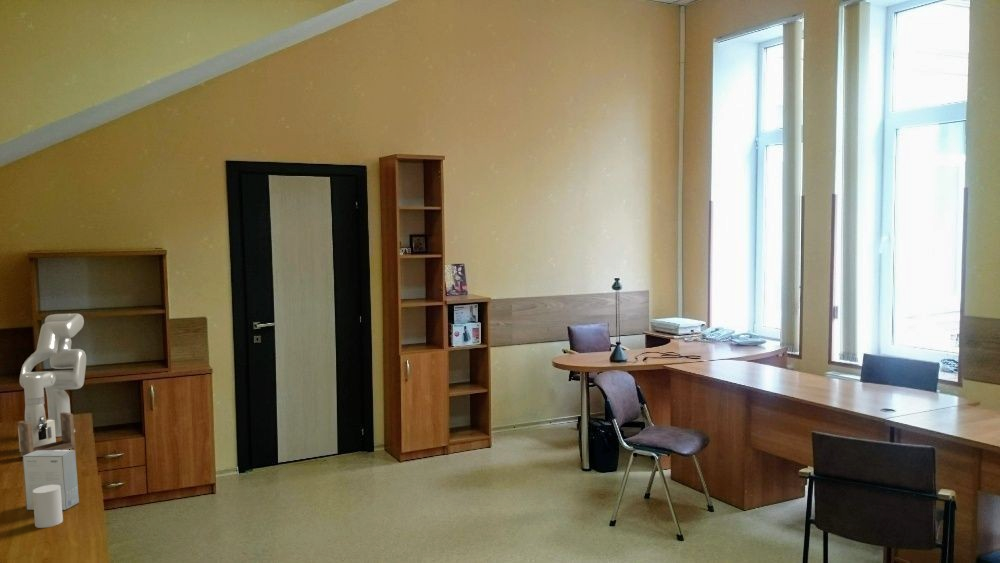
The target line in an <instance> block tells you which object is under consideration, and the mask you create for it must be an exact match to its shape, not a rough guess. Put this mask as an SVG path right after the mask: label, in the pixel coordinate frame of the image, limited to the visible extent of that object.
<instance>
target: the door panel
mask: <svg viewBox="0 0 1000 563" xmlns="http://www.w3.org/2000/svg"><path fill="white" fill-rule="evenodd" d="M46 421H47V428H46V429H47V430H46V437H47V438H46V439H43V440H39V437H38V432H39V430H38V427H32V437H33V448H34V447H38V446H42V445H46V444H50V443H54V442H57V437H56V434H55V420H49V419H46ZM40 428H41V427H40ZM17 432H18V434H19V426H17ZM18 445H19V446H18V447H19V448H20V437H19V436H18ZM20 452H21V450H20V449H19V453H20Z"/></svg>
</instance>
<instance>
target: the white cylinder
mask: <svg viewBox="0 0 1000 563" xmlns="http://www.w3.org/2000/svg"><path fill="white" fill-rule="evenodd" d="M33 504H34V510H33V514H34V516H33V517H34V518H33V519H34V526H35V528H38V529H39V528H40V529H43V528H51V527H54V526H57V525H60V524H61V523H63V522H64V517H63V510H62V501H61V486H60V485H46V486H42V487H38V488H36V489H34V490H33Z"/></svg>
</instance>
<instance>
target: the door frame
mask: <svg viewBox="0 0 1000 563" xmlns="http://www.w3.org/2000/svg"><path fill="white" fill-rule="evenodd" d="M70 413H71V412H70ZM70 413H65V412H62V413H60V418H61V433H62V436H61V440H59V441H56V442H54V443H50V444H46V445H42V446H38V447H34V448H33V437H32V423H28V422H25V421H23V420H21V421H18V427H19V433H18V438H19V437H20V447H19V451H20V450H21V453H20V458H21V457H23V456H24V455H27V454H29V453H31V452H34V451H36V450H69V449H70V450H73V449H72V448H74V449H76V441H75V440H76V439H75V438H76V436H75V433H74V429H75V426H74V425H75V424H74V423H75V422H74V421H75V420H74V414H73V413H71V414H70Z"/></svg>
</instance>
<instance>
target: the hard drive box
mask: <svg viewBox="0 0 1000 563" xmlns="http://www.w3.org/2000/svg"><path fill="white" fill-rule="evenodd" d="M22 466H23V477H24V478H23V479H24V480H23V481H24V491H25V492H24V493H25V503H26V510H27V511H32V510H33V511H34V504H33V490H34V489H36V488H38V487H42V486H46V485H60V486H61V501H62V511H66V510H68V509H70V508H72V507H73V506H75V505H77V504H79V503H80V496H79V485H78V483H79V482H78V472H77V459H76V449H70V450H36V451H34V452H31V453H29V454H27V455H24V456H23V458H22Z"/></svg>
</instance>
